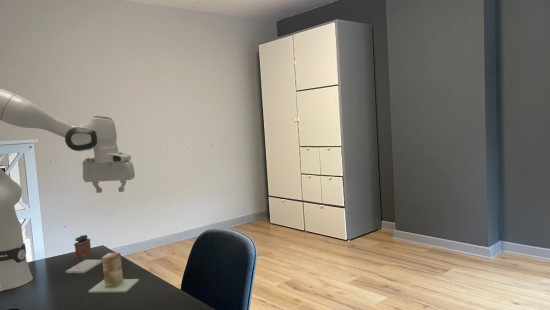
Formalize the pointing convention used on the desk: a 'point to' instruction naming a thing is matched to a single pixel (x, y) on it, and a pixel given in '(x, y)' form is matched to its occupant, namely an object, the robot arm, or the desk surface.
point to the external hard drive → (84, 266)
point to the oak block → (112, 270)
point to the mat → (123, 287)
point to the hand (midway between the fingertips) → (110, 192)
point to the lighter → (82, 248)
